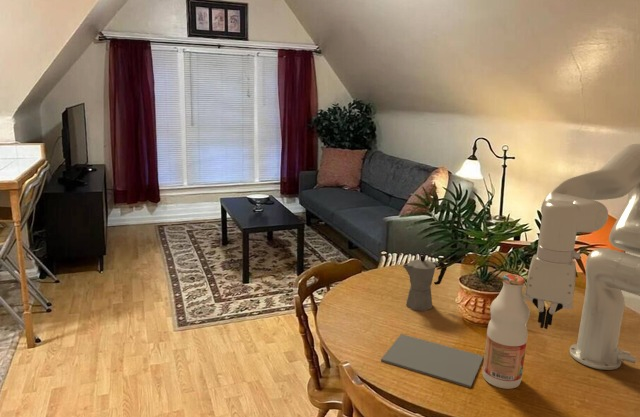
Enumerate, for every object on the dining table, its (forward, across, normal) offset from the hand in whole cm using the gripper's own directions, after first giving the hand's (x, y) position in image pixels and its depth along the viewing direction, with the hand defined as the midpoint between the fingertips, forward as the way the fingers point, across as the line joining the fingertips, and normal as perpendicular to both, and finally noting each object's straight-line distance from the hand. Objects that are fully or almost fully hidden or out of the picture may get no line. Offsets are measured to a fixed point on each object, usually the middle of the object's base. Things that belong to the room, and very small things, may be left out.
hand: (544, 326), depth 117 cm
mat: (+17, +26, 0) cm, 31 cm away
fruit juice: (+17, +8, 0) cm, 19 cm away
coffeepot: (+17, +39, -33) cm, 54 cm away
